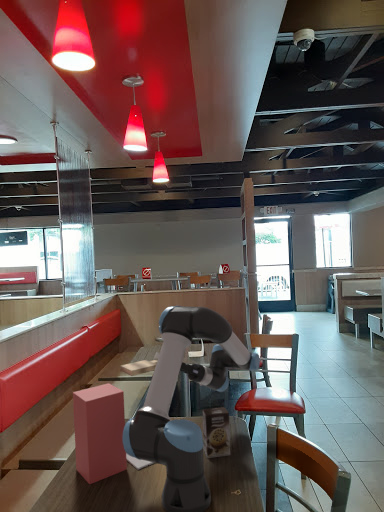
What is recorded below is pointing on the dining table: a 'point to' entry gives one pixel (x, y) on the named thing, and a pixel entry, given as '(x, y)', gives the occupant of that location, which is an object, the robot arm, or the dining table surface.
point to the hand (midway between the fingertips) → (158, 356)
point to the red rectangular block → (99, 432)
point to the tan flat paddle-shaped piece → (139, 367)
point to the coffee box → (216, 432)
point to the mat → (138, 462)
